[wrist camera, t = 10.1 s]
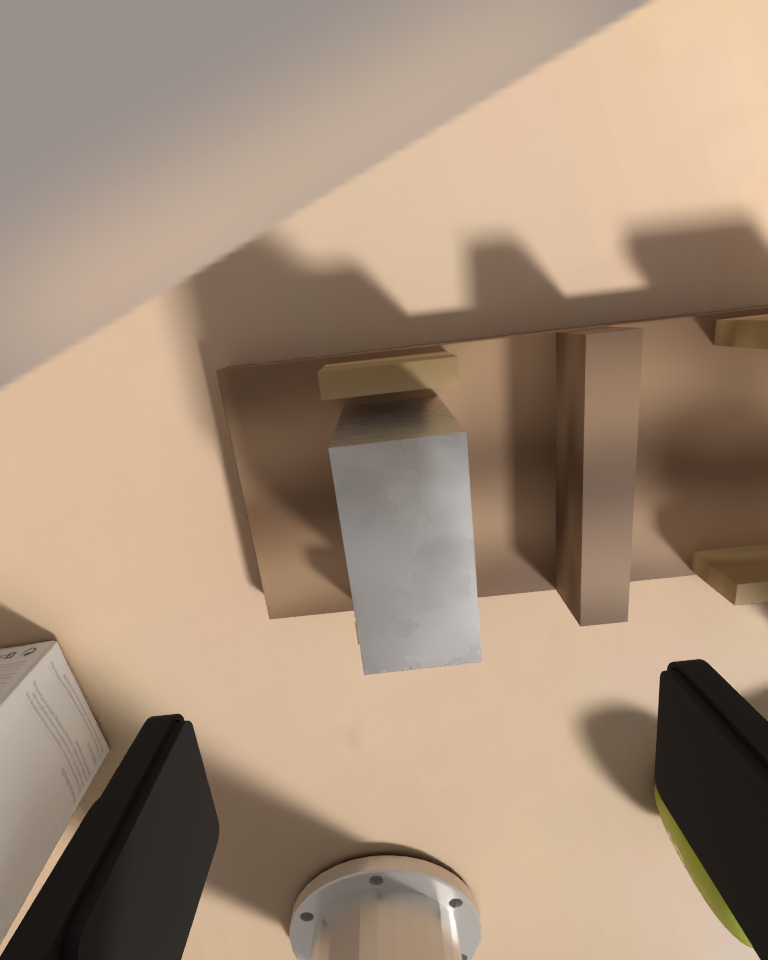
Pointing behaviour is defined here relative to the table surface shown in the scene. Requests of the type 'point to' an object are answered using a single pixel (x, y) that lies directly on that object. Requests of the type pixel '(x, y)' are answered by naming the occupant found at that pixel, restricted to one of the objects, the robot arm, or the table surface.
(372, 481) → the grey rectangular block
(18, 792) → the skincare box
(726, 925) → the dumbbell
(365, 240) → the table surface
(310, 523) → the board
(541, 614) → the table surface
